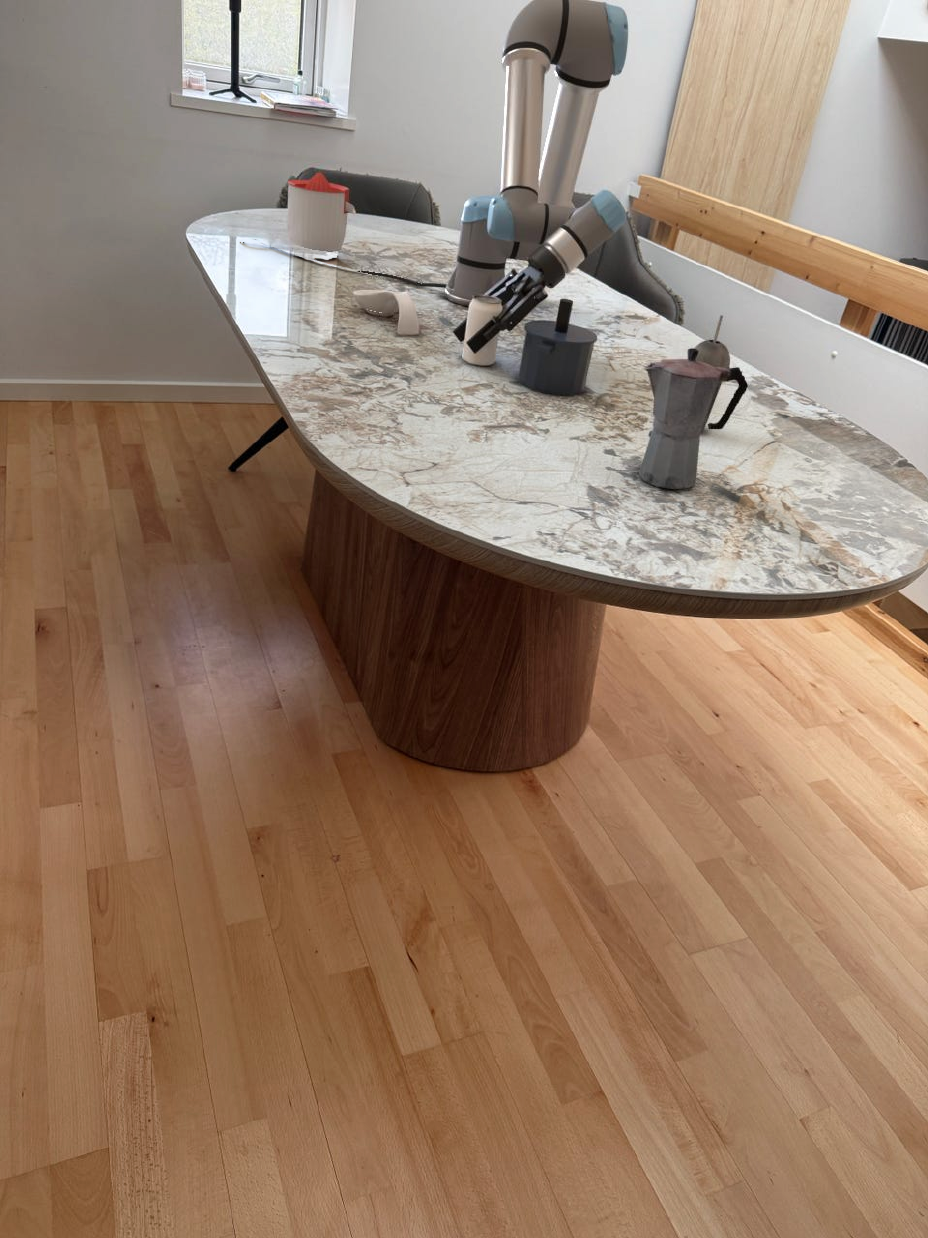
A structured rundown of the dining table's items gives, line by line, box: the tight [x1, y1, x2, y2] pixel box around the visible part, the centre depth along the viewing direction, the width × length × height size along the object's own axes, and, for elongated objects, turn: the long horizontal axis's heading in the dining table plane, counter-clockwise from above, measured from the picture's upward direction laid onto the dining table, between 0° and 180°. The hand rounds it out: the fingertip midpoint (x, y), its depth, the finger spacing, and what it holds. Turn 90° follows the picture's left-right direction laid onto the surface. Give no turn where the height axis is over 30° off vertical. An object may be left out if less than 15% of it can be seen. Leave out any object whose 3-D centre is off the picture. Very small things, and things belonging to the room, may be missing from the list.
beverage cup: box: [694, 314, 731, 433], centre depth 160 cm, size 7×7×20 cm
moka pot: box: [638, 347, 749, 490], centre depth 137 cm, size 10×15×20 cm, turn 95°
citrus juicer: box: [286, 171, 357, 252], centre depth 237 cm, size 16×17×20 cm
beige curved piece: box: [352, 289, 420, 336], centre depth 197 cm, size 24×12×7 cm, turn 25°
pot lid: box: [523, 298, 598, 345], centre depth 169 cm, size 14×14×7 cm
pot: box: [517, 331, 595, 396], centre depth 173 cm, size 13×18×10 cm
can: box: [461, 295, 504, 367], centre depth 179 cm, size 6×6×12 cm
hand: (463, 342), depth 179 cm, fingers open, 6 cm apart
